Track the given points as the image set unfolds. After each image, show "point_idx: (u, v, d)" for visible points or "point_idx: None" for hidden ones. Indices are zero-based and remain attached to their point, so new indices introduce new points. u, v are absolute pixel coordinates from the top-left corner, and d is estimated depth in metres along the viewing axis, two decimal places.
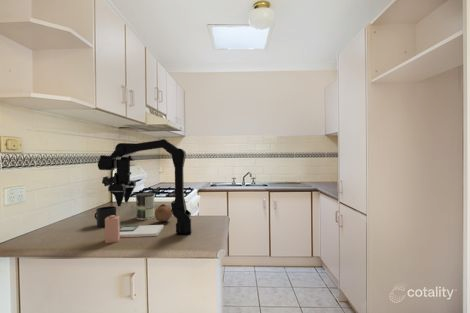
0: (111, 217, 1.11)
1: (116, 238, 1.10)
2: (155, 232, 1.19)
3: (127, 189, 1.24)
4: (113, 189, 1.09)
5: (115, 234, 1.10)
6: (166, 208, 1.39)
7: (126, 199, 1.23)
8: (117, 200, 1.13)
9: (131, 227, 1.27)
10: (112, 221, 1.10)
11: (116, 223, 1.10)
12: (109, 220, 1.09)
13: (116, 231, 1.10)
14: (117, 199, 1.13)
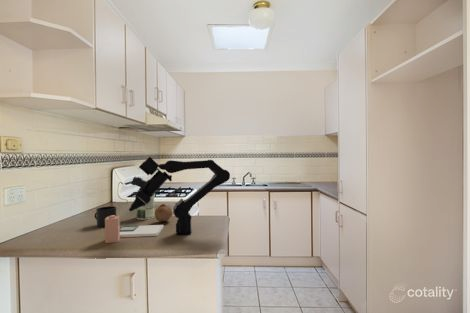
0: (111, 217, 1.11)
1: (116, 238, 1.10)
2: (155, 232, 1.19)
3: None
4: (141, 196, 1.07)
5: (115, 234, 1.10)
6: (166, 208, 1.39)
7: None
8: (133, 205, 1.09)
9: (131, 227, 1.27)
10: (112, 221, 1.10)
11: (116, 223, 1.10)
12: (109, 220, 1.09)
13: (116, 231, 1.10)
14: (134, 204, 1.09)
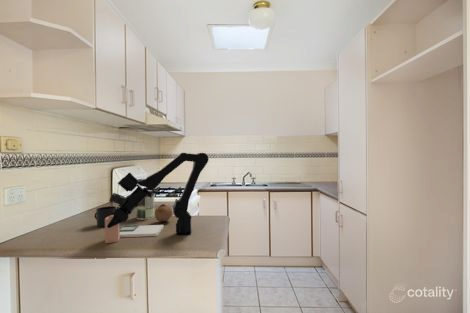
0: (111, 217, 1.11)
1: (116, 238, 1.10)
2: (155, 232, 1.19)
3: None
4: (118, 215, 1.04)
5: (115, 234, 1.10)
6: (166, 208, 1.39)
7: None
8: (111, 222, 1.09)
9: (131, 227, 1.27)
10: None
11: None
12: (109, 220, 1.09)
13: (116, 231, 1.10)
14: (112, 221, 1.09)
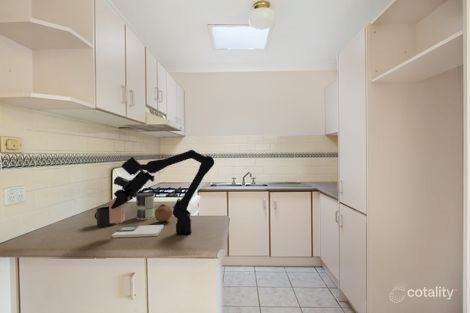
0: (115, 199, 1.16)
1: (119, 219, 1.15)
2: (155, 232, 1.19)
3: None
4: (118, 196, 1.08)
5: (118, 216, 1.15)
6: (166, 208, 1.39)
7: None
8: (114, 203, 1.14)
9: (131, 227, 1.27)
10: None
11: None
12: (113, 202, 1.15)
13: (119, 212, 1.15)
14: (115, 202, 1.13)
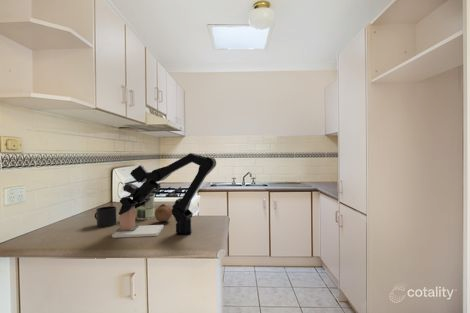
0: None
1: (128, 227, 1.22)
2: (155, 232, 1.19)
3: None
4: (123, 203, 1.15)
5: (127, 223, 1.22)
6: (166, 208, 1.39)
7: None
8: (121, 210, 1.20)
9: None
10: None
11: (128, 213, 1.22)
12: None
13: (128, 220, 1.22)
14: (121, 209, 1.19)
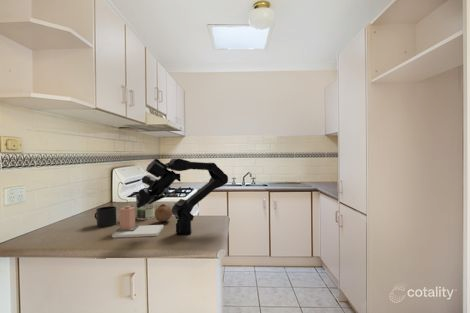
0: (125, 207, 1.24)
1: (128, 227, 1.22)
2: (155, 232, 1.19)
3: None
4: (142, 195, 1.09)
5: (127, 223, 1.22)
6: (166, 208, 1.39)
7: (150, 201, 1.23)
8: (139, 202, 1.13)
9: None
10: (125, 211, 1.23)
11: (128, 213, 1.22)
12: (123, 210, 1.23)
13: (128, 220, 1.22)
14: (140, 202, 1.13)
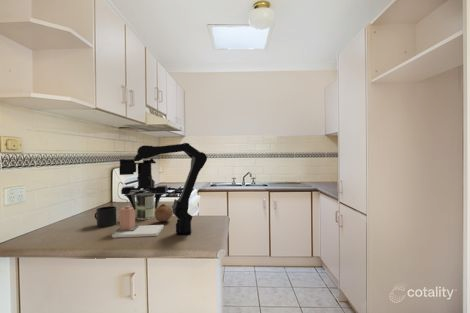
0: (125, 207, 1.24)
1: (128, 227, 1.22)
2: (155, 232, 1.19)
3: None
4: None
5: (127, 223, 1.22)
6: (166, 208, 1.39)
7: None
8: None
9: None
10: (125, 211, 1.23)
11: (128, 213, 1.22)
12: (123, 210, 1.23)
13: (128, 220, 1.22)
14: None
